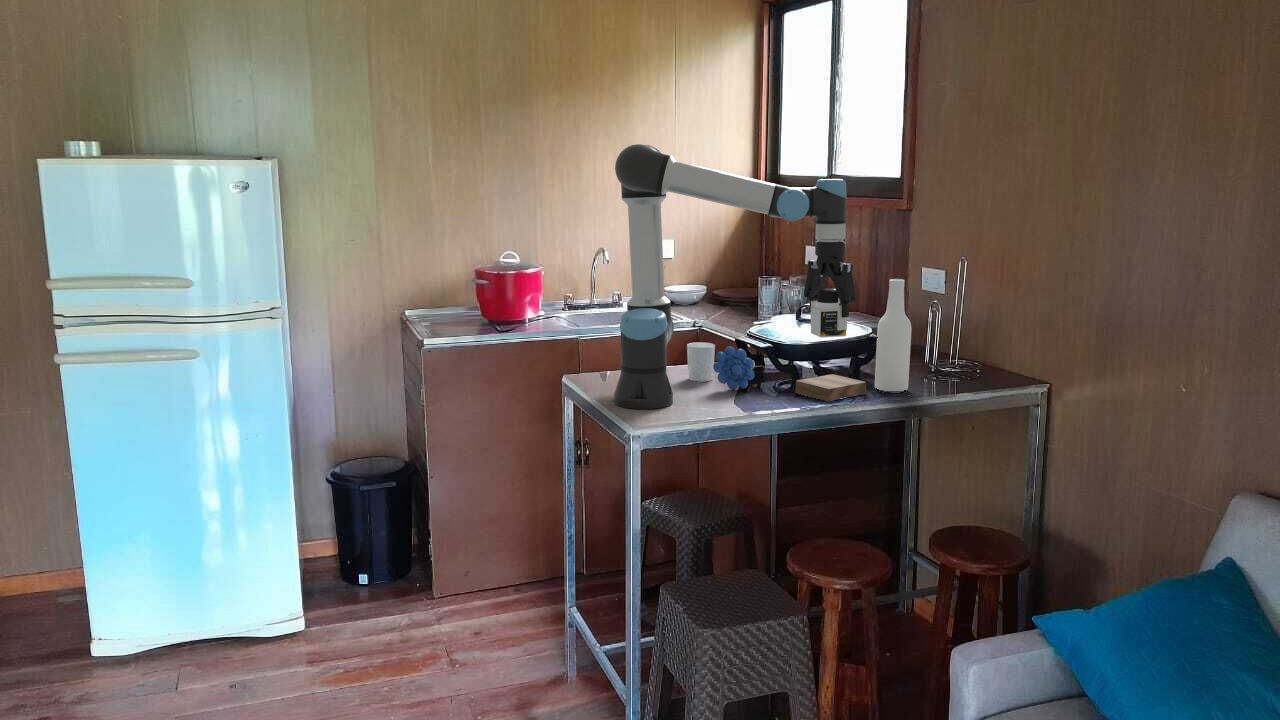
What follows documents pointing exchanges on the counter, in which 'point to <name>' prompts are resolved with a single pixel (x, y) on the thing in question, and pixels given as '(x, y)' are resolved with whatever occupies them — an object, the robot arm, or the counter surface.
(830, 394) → the base block
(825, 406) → the counter surface
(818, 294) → the medicine bottle
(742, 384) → the blue flower
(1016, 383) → the counter surface
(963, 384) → the counter surface
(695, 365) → the white cup
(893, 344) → the alcohol
